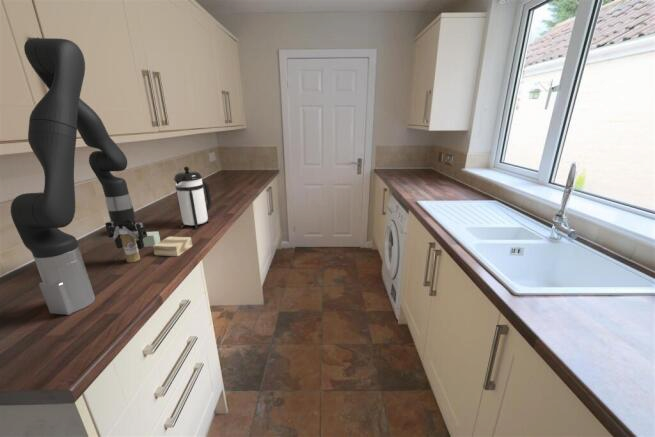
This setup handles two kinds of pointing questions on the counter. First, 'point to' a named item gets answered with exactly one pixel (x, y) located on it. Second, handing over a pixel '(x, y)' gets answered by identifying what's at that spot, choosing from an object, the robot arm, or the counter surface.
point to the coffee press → (192, 197)
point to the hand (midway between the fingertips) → (130, 248)
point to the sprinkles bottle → (129, 246)
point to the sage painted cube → (151, 239)
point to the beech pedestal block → (172, 246)
